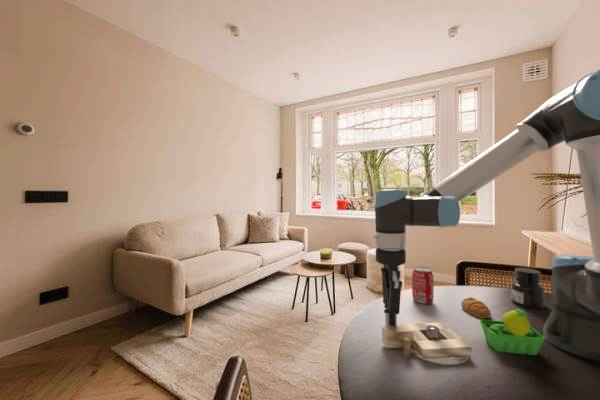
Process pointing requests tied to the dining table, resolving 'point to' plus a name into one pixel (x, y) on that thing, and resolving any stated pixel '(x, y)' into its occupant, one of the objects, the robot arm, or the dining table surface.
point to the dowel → (407, 347)
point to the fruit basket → (512, 334)
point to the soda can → (422, 285)
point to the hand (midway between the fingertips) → (390, 334)
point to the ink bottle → (527, 289)
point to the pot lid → (447, 360)
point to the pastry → (476, 308)
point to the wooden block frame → (426, 340)
